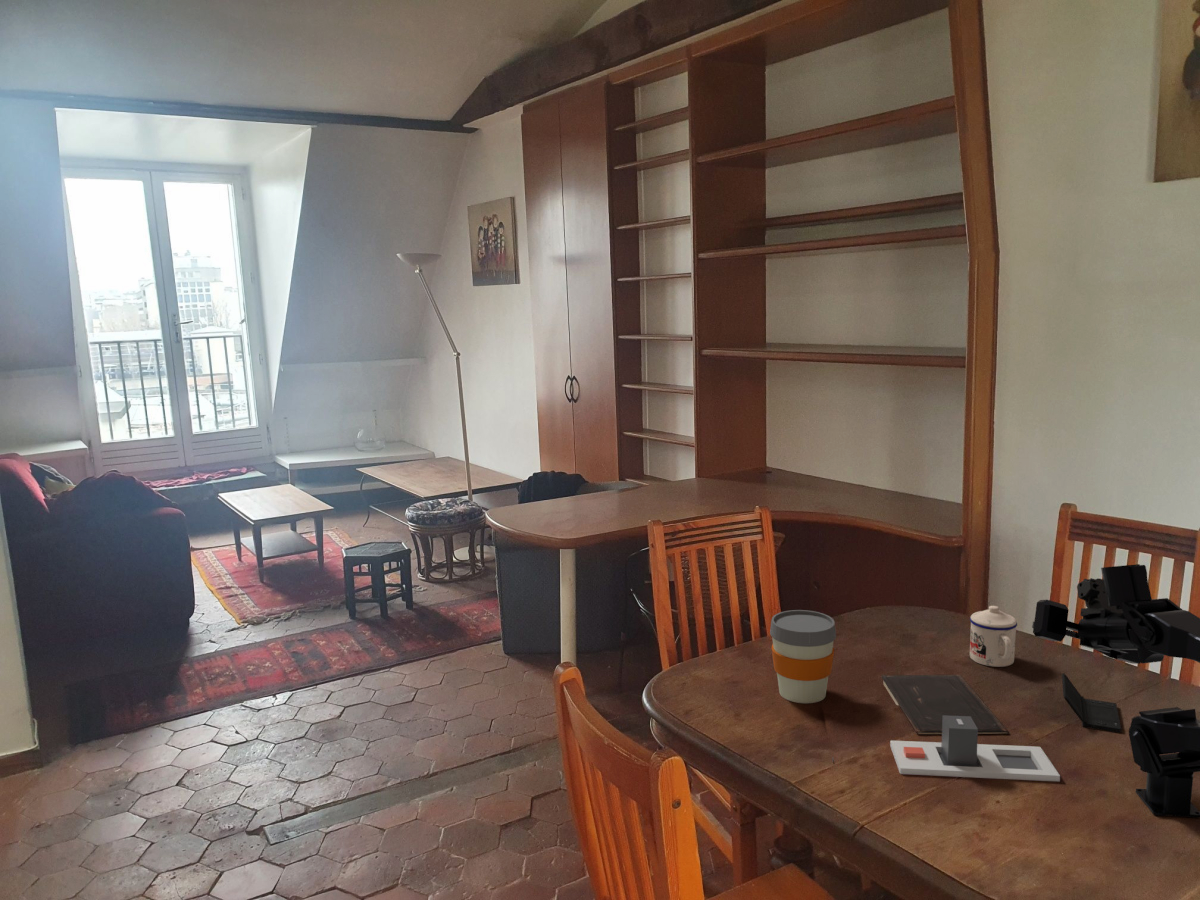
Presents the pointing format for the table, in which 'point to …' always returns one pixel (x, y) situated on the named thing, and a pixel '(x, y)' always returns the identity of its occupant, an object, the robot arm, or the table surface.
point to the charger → (959, 741)
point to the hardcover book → (939, 702)
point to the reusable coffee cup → (802, 654)
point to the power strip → (989, 758)
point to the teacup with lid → (992, 637)
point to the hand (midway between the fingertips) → (1057, 631)
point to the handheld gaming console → (1091, 709)
